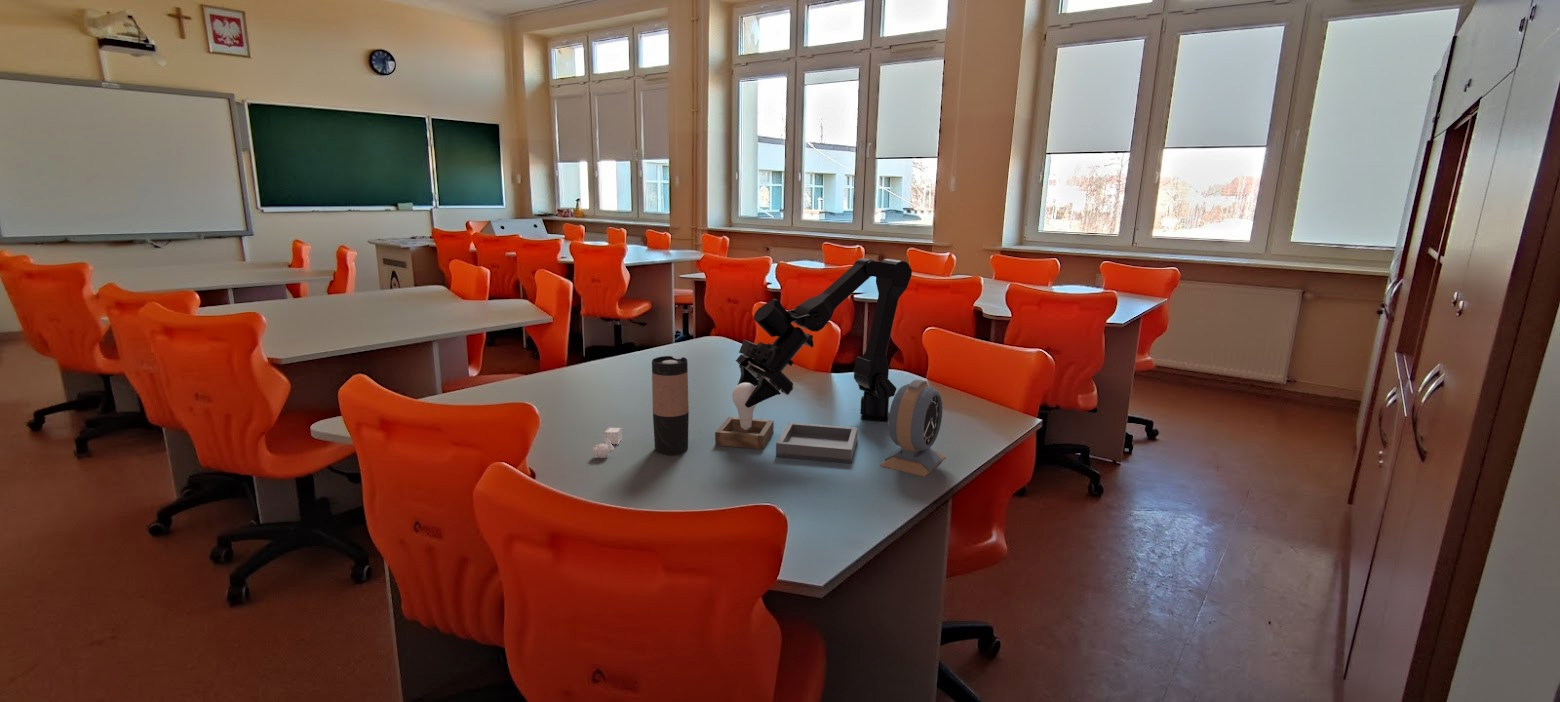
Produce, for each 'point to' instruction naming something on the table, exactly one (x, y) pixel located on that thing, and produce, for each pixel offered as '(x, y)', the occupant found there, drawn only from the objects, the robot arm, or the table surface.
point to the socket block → (745, 440)
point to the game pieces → (608, 442)
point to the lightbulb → (740, 398)
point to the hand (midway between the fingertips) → (740, 402)
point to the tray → (817, 442)
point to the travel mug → (670, 404)
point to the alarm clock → (915, 428)
